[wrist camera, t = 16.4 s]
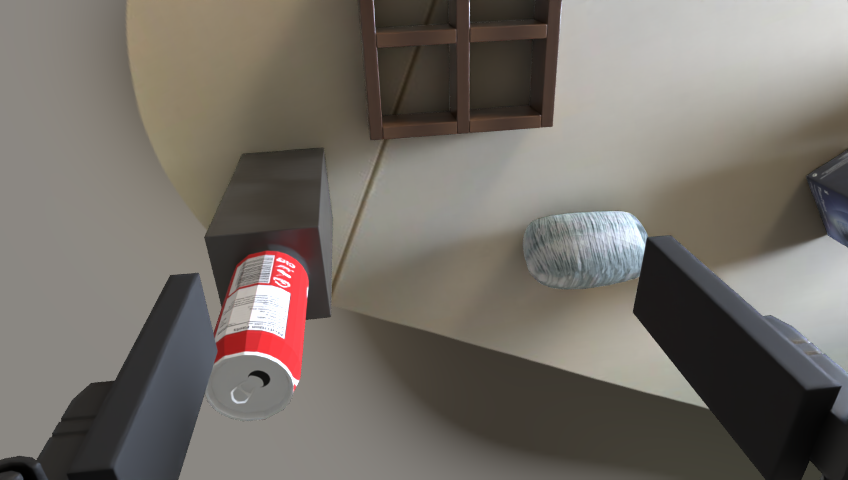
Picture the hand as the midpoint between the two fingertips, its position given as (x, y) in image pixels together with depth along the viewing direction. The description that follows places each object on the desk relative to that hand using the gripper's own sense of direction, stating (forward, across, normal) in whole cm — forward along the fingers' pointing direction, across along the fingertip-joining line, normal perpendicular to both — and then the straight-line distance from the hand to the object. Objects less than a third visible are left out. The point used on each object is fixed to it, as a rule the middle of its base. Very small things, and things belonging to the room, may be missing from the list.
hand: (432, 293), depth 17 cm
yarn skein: (+41, +22, -21) cm, 51 cm away
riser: (+41, -9, -13) cm, 44 cm away
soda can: (+23, -9, -13) cm, 28 cm away
